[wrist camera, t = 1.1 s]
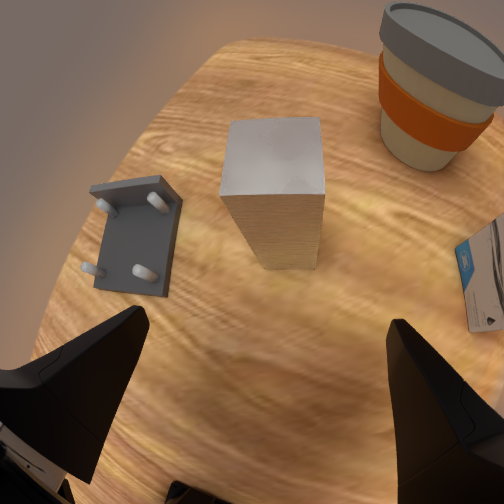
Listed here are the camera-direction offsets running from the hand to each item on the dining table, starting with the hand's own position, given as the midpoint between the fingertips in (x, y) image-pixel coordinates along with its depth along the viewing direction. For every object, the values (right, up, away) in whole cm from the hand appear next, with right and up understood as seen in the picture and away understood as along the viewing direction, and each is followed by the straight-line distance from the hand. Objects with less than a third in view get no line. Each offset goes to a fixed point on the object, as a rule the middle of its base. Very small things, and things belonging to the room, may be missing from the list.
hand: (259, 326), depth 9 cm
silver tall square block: (+3, +3, +15) cm, 15 cm away
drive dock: (-12, +3, +18) cm, 22 cm away
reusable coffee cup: (+18, +15, +16) cm, 29 cm away
